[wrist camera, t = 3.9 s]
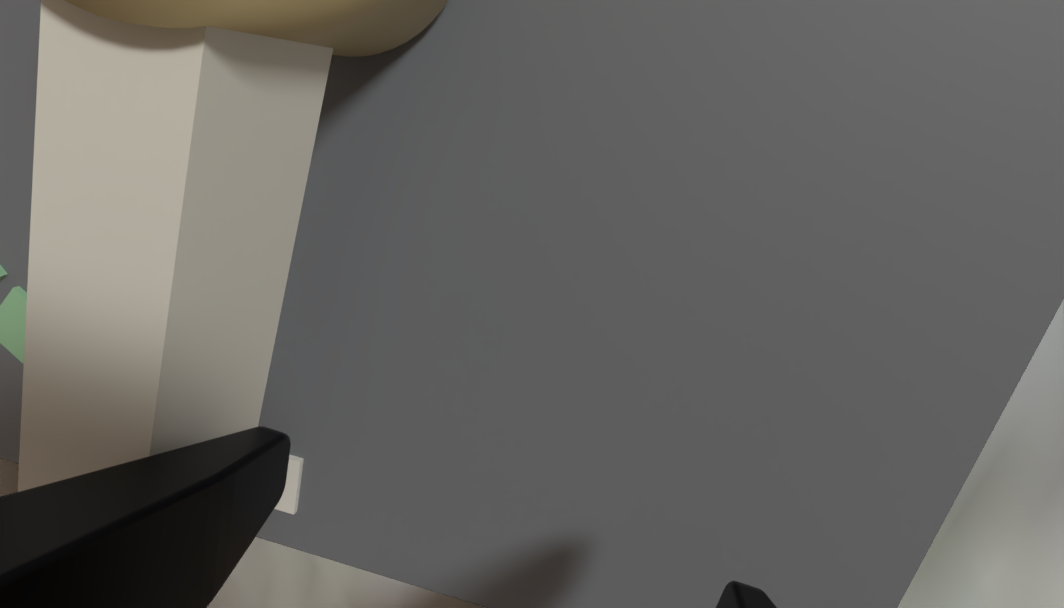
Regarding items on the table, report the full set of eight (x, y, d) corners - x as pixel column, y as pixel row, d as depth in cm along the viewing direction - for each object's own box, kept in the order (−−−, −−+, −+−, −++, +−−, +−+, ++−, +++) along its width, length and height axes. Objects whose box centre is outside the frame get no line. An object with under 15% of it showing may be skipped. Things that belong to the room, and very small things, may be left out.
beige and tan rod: (241, -285, 8) (-105, -625, 4) (506, -198, 8) (389, -470, 4) (141, 483, 12) (-80, 655, 8) (314, 551, 12) (167, 756, 8)
